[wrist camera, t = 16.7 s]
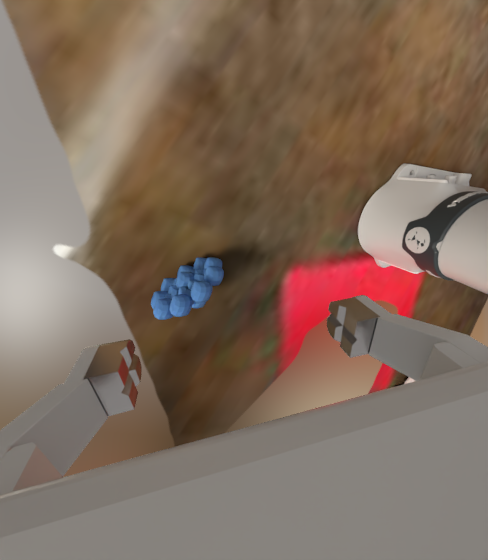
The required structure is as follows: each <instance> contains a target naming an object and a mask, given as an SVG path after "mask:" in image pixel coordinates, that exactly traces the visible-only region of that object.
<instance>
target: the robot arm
mask: <svg viewBox="0 0 488 560" xmlns="http://www.w3.org/2000/svg"><path fill="white" fill-rule="evenodd" d="M410 172H411V173H410ZM471 175H472V174H464V173H454V172H449V171H444V170H439V169H434V168H428V167H423V166H418V165H413V164H402V165H401V166H400V167H399V168H398V169H397V170H396V172H395V173H394V175H393V176H392V178H391V179H390V180H389V181H388V182H387V183H386V184H385V185H383V186H382V187H381V188H380V189H378V190H377V191H376V192H375V193H374V194H373V196H372V197H371V198H370V199H369V201H368V202H367V204H366V206H365V208H364V209H363V212H362V214H361V217H360V221H359V226H358V237H359V242H360V244H361V246H362V248H363V249H364V250H365V251H366V252H367V253H368V254H370V255H372V256H373V257H374V259H375V261H376V263H377V265H378V266H380V267H383V268H385V267H388V266H391V265H392V266H395V267H398V268H400V269H403V270H406V271H408V272H411V273H415V274H418V273H419V272H424V271H425V272H428V273H429V274H431V275H433V276H436V277H440V278H443V279H446V280H455V281H458V282H460V283H462V284H465V285H467V286H469V287H472V288H474V289H476V290H479V291H481V292H484V293H486V294H488V192H486V190H485V189H483V188H477V187H471V186H469V180H470V178H471ZM329 311H330V313H331V314H330V316H329V317H328V318H327V328H328V331H329V333H330V335H331V336H332V338H333V339H334V340H337V341H339V342H340V347H341V348H342V349H343V350H344V352H345V353H346V354H347V355H348V356H349V357H350V358H351V357H356V356H361V355H365V354H369V355H370V356H372V357H374V358H375V359H377V360H379V361H381V362H383V363H384V364H386V365H388V366H390V367H392V368H394V369H395V370H397V371H399V372H401V373H403V374H404V375H406V376H408V377H410V378H412V379H414V380H415V381H414V382H411V383H407V384H403V385H400V386H396V387H392V388H389V389H385V390H381V391H378V392H374V393H370V394H367V395H363V396H359V397H356V398H352V399H348V400H345V401H341V402H338V403H334V404H330V405H326V406H323V407H319V408H316V409H312V410H308V411H305V412H301V413H297V414H294V415H290V416H286V417H283V418H279V419H276V420H272V421H268V422H264V423H261V424H257V425H253V426H250V427H246V428H242V429H239V430H235V431H231V432H228V433H224V434H220V435H217V436H213V437H209V438H206V439H202V440H198V441H195V442H191V443H187V444H184V445H180V446H176V447H173V448H169V449H165V450H162V451H158V452H154V453H151V454H147V455H143V456H140V457H136V458H132V459H129V460H125V461H121V462H118V463H114V464H111V465H107V466H103V467H100V468H96V469H92V470H89V471H85V472H82V473H78V474H74V475H71V476H67V477H63V475H64V474H65V473H66V472H67V470H68V469H69V468H70V466H71V465H72V463H73V462H74V461H75V460H76V459H77V457H78V456H79V455H80V453H81V452H82V451H83V449H84V448H85V447H86V445H87V444H88V443H89V442H90V440H91V439H92V438H93V436H94V435H95V434H96V433H97V431H98V430H99V429H100V427H101V426H102V425H103V423H104V422H105V421H106V420H107V418H108V417H107V416H110V415H114V414H118V413H122V412H126V411H129V410H133V409H134V408H135V404H136V399H137V394H138V391H137V389H136V386H137V385H138V384H139V383H140V380H141V364H140V360H139V357H138V356H137V355H135V354H134V351H135V347H134V344H133V341H131V340H124V341H118V342H112V343H106V344H102V345H95V346H90V347H86V348H85V349H83V351H82V352H81V354H80V356H79V358H78V360H77V361H76V363H75V365H74V367H73V368H72V370H71V372H70V374H69V376H68V377H67V379H66V381H65V383H64V384H60V385H58V386H57V387H55V388H54V389H53V390H52V391H50V392H49V393H48V394H47V395H45V396H44V397H42V398H41V399H40V400H39V401H37V402H36V403H35V404H34V405H33V406H31V407H30V408H28V409H27V410H26V411H25V412H23V413H22V414H21V415H19V416H18V417H17V418H16V419H15V420H13V421H12V422H10V423H9V424H8V425H7V426H5V427H4V428H3V429H1V430H0V560H488V347H487V346H485V345H483V344H482V343H480V342H478V341H477V340H475V339H473V338H471V337H470V336H468V335H465V334H462V333H459V332H455V331H452V330H448V329H445V328H442V327H438V326H435V325H431V324H428V323H425V322H421V321H418V320H414V319H411V318H407V317H404V316H401V315H397V314H394V315H392V314H391V313H389V312H388V311H386V310H385V309H384V308H382V307H381V306H380V305H378V304H377V303H375V302H374V301H373V300H371V299H370V298H368V297H367V296H364V295H361V296H356V297H352V298H348V299H343V300H338V301H333V302H331V303H330V305H329Z"/></svg>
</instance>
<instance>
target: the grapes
mask: <svg viewBox="0 0 488 560" xmlns="http://www.w3.org/2000/svg"><path fill="white" fill-rule="evenodd" d="M223 276H224V271H223V269H222V261H221V259H218V258H214V257H208V258H196V260H195V263H194V267H192V266H185V265H183V266H180V268H179V270H178V273H177V279H176V278H165V279H164V281H163V283H162V285H161V291H157V292H154V295H153V297H152V300H151V306H152V308H153V309H154V311H153V313H154V316H155V318H157V319H159V320H165V319H169V318H172V317H173V316H175V317H182V316H185V315H188V314H189V312H190V310H191V307H192V308H200V307H203V306H204V305H205V303H206V301H208V300H209V298H210V296H211V293H212V286H217V285H220V283H221V281H222V279H223Z"/></svg>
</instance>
